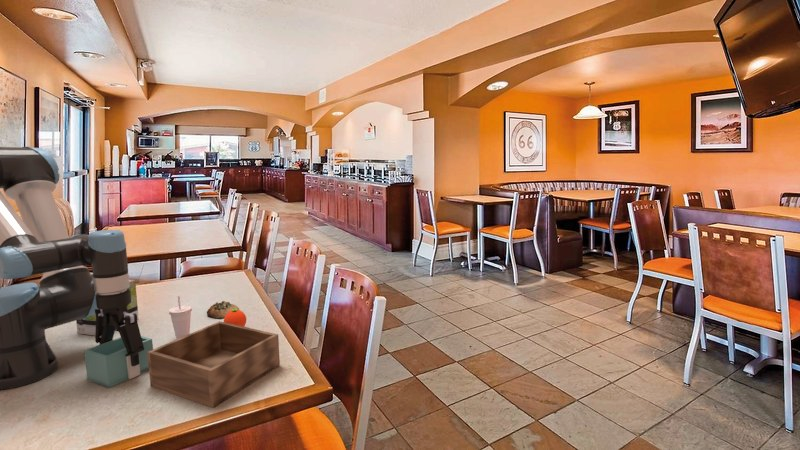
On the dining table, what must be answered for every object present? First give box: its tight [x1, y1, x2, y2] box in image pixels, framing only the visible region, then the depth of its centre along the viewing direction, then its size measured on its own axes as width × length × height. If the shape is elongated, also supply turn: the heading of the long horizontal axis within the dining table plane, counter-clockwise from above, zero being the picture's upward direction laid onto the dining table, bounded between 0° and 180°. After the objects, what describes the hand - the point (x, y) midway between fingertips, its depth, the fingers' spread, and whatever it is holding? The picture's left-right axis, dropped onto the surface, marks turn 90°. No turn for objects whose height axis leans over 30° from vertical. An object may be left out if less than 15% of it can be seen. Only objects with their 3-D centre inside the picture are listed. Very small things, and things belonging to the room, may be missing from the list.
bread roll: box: [206, 300, 240, 319], centre depth 156 cm, size 11×11×5 cm
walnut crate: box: [147, 321, 281, 409], centre depth 111 cm, size 22×22×9 cm
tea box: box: [75, 279, 139, 336], centre depth 143 cm, size 15×10×15 cm
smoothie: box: [168, 295, 193, 340], centre depth 134 cm, size 6×6×14 cm
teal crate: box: [83, 335, 154, 389], centre depth 112 cm, size 12×9×8 cm
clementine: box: [223, 309, 247, 327], centre depth 141 cm, size 8×7×7 cm
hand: (122, 372), depth 113 cm, fingers open, 9 cm apart
